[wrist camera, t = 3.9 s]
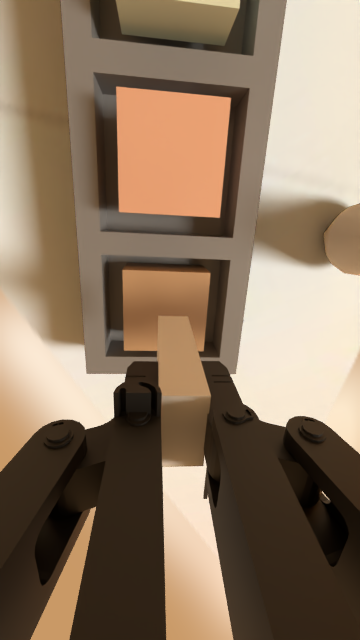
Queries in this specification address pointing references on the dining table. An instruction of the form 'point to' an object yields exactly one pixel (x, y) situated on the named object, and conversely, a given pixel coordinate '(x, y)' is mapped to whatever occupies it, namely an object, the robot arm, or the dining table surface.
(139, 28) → the cream square block
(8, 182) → the dining table surface
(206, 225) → the key panel
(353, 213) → the salt shaker
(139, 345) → the walnut key
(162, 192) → the terracotta key
